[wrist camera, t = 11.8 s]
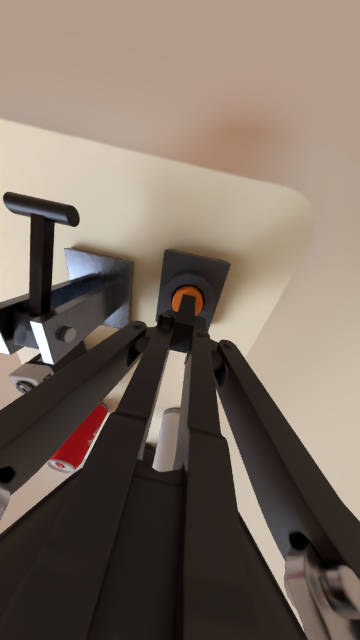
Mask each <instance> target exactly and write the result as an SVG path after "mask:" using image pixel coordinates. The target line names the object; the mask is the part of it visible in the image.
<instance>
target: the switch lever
mask: <svg viewBox="0 0 360 640" xmlns="http://www.w3.org/2000/svg"><path fill="white" fill-rule="evenodd" d="M3 201H4V204H5V205H6V207H7V208H8V209H9V210H10V211H11V212H13V213H15V214H18V215H23V216H27V217H31V231H30V281H29V311H26V312H18V313H14V344H17V345H22V346H26V347H30V348H35V349H39V347H38V344H37V341H36V338H35V335H34V332H33V329H32V326H31V323H30V320H32V319H34V318H36V317H38V316H40V315H43V314H45V313H47V312H49V311H50V308H51V288H52V267H53V246H54V226H55V223H59V224H63V225H68V226H72V227H76V226H78V225H79V221H80V218H79V213H78V211H77V210H76V208H75V207H73V206H71V205H67V204H62V203H58V202H53V201H49V200H44V199H40V198H35V197H31V196H26V195H21V194H17V193H12V192H6V193H5V194H4V196H3Z"/></svg>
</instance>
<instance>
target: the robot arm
mask: <svg viewBox="0 0 360 640" xmlns="http://www.w3.org/2000/svg"><path fill="white" fill-rule="evenodd" d="M195 303H196V297H194V296H190V295H185V294H183V295H182V299H181V302H180V306H179V309H178V312H176V311H172V310H167V311H165V313H161V314H159V315H158V322H157V326H156V327H147V326H146V324H145V323H144V322H141V321H132V322H130V323H129V324H127V325H126V326H124V327H123V328H121V329H120V330H118V331H117V332H115V333H114V334H112V335H111V336H109V337H108V338H106V339H105V340H103V341H102V342H101V343H99V344H98V345H96V346H95V347H93V348H92V349H90V350H89V351H87V352H86V353H84V354H83V355H81V356H80V357H78V358H77V359H75V360H74V361H72V362H71V363H69V364H68V365H67V366H65V367H64V368H62V369H61V370H59V371H58V372H56V373H55V374H53V375H52V376H50V377H49V378H47V379H46V380H44V381H43V382H41V383H40V384H38V385H37V386H35V387H34V388H33V389H31V390H30V391H28V392H27V393H25V394H24V395H22V396H21V397H19V398H18V399H16V400H15V401H13V402H12V403H11V404H9V405H7V406H6V407H4V408H3V409H2V410H0V520H1V517H2V515H3V513H4V511H5V509H6V507H7V505H8V503H9V499H10V496H11V495H12V494H13V493H14V492H15V491H17V490H18V489H19V488H20V487H21V486H22V485H23V484H25V483H26V482H27V481H28V480H29V479H30V478H31V477H32V476H33V475H34V474H35V473H36V472H37V471H38V470H39V469H40V468H41V467H42V466H43V465H44V464H45V463H46V462H47V461H48V460H49V459H50V458H51V457H52V456H53V455H54V454H55V452H56V451H57V450H58V449H59V448H60V447H61V446H62V445H63V444H64V442H65V441H66V440H67V439H68V438H69V437H70V436H71V435H72V434H73V432H74V431H75V430H76V429H77V428H78V427H79V426H80V425H81V424H82V422H83V421H84V420H85V419H86V418H87V417H88V416H89V415H90V414H91V412H92V411H93V410H94V409H95V408H96V407H97V406H98V405H99V404H100V403H101V401H102V400H103V399H104V398H105V397H106V396H107V395H108V394H109V393H110V391H111V390H112V389H113V388H114V387H115V386H116V385H117V384H118V383H119V381H120V380H121V379H122V378H123V377H124V376H125V375H126V374H127V373H128V371H129V370H130V369H131V368H132V367H133V366H134V365H135V364H136V363H137V361H138V360H139V359H140V358H141V359H140V361H139V363H138V365H137V368H136V370H135V372H134V374H133V376H132V378H131V380H130V382H129V384H128V386H127V388H126V390H125V393H124V395H123V397H122V399H121V401H120V403H119V405H118V407H117V409H116V410H115V412H112V413H111V414H110V415H109V417H108V418H107V420H106V422H105V424H104V426H103V428H102V430H101V432H100V434H99V436H98V438H97V440H96V442H95V444H94V446H93V448H92V450H91V452H90V454H89V456H88V458H87V459H86V462H85V463H84V466H83V468H81V469H79V470H78V471H76V472H75V473H74V474H72V475H71V476H70V477H68V478H67V479H66V480H65V481H64V482H62V483H61V484H60V485H59V486H57V487H56V488H55V489H54V490H53V491H52V492H50V493H49V494H48V495H47V496H45V497H44V498H43V499H42V500H41V501H39V502H38V503H37V504H36V505H35V506H34V507H32V508H31V509H30V510H29V511H28V512H26V513H25V514H24V515H23V516H22V517H20V518H19V519H18V520H17V521H16V522H14V523H13V524H12V525H11V526H10V527H8V528H7V529H6V530H5V531H4V532H2V533H1V534H0V640H360V521H359V520H358V519H357V518H356V517H355V516H354V515H353V514H352V512H351V511H350V510H349V509H348V508H347V507H346V506H345V505H344V503H343V502H342V501H341V500H340V498H339V497H338V495H337V494H336V492H335V491H334V489H333V488H332V486H331V485H330V483H329V482H328V480H327V479H326V478H325V476H324V475H323V473H322V472H321V470H320V469H319V467H318V466H317V464H316V463H315V461H314V460H313V458H312V457H311V455H310V454H309V452H308V451H307V450H306V448H305V447H304V445H303V444H302V442H301V441H300V439H299V438H298V436H297V435H296V433H295V432H294V430H293V429H292V428H291V426H290V425H289V423H288V422H287V420H286V419H285V417H284V416H283V414H282V413H281V411H280V410H279V408H278V407H277V406H276V404H275V402H274V401H273V400H272V398H271V397H270V395H269V394H268V392H267V391H266V389H265V388H264V386H263V385H262V383H261V382H260V380H259V379H258V378H257V376H256V374H255V373H254V372H253V370H252V369H251V367H250V366H249V364H248V363H247V362H246V360H245V358H244V357H243V355H242V354H241V352H240V351H239V349H238V348H237V347H236V345H235V344H234V343H232V342H231V341H228V340H221V341H220V342H219V343H218V342H215V341H213V340H212V339H210V335H209V334H208V333H207V327H206V320H205V318H204V317H201V316H196V315H195ZM169 350H174V351H178V352H183V353H187V356H186V359H185V363H184V364H185V372H184V381H183V390H182V399H181V408H180V418H179V427H178V436H177V445H176V454H175V460H174V465H173V470H172V471H165V472H159V471H157V470H155V469H154V468H152V467H151V466H149V465H147V464H146V463H144V462H143V461H141V460H142V456H143V451H144V447H145V443H146V439H147V436H148V432H149V428H150V424H151V420H152V416H153V412H154V408H155V405H156V401H157V397H158V393H159V389H160V385H161V381H162V377H163V373H164V370H165V366H166V362H167V358H168V354H169ZM187 351H188V352H187ZM216 389H217V392H218V395H219V398H220V400H221V403H222V406H223V408H224V411H225V414H226V416H227V419H228V422H229V425H230V427H231V430H232V433H233V435H234V438H235V441H236V444H237V446H238V449H239V451H240V454H241V457H242V460H243V462H244V465H245V468H246V471H247V473H248V476H249V479H250V481H251V484H252V487H253V490H254V492H255V495H256V497H257V500H258V503H259V505H260V508H261V511H262V513H263V515H264V518H265V520H266V523H267V525H268V527H269V530H270V531H271V534H272V536H273V538H274V540H275V542H276V544H277V546H278V548H279V550H280V552H281V554H282V556H283V558H284V559H285V575H284V585H285V588H286V592H287V595H288V597H289V599H290V601H291V603H292V605H293V606H294V607H295V608H296V609H297V611H298V614H299V617H300V619H301V622H302V624H303V628H304V631H305V633H304V631H303V629H302V627H301V626H300V624H299V622H298V620H297V618H296V616H295V614H294V613H293V611H292V609H291V607H290V605H289V604H288V602H287V600H286V598H285V596H284V594H283V592H282V591H281V589H280V587H279V585H278V583H277V581H276V579H275V577H274V576H273V574H272V572H271V570H270V569H269V566H268V565H267V563H266V561H265V559H264V557H263V555H262V553H261V552H260V550H259V548H258V546H257V544H256V543H255V541H254V539H253V537H252V535H251V533H250V531H249V529H248V528H247V526H246V524H245V522H244V520H243V518H242V517H241V515H240V513H239V512H238V509H237V502H236V495H235V488H234V481H233V475H232V467H231V461H230V453H229V447H228V443H227V440H226V438H225V437H223V436H222V434H221V430H220V422H219V414H218V404H217V395H216Z"/></svg>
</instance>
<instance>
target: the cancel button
mask: <svg viewBox="0 0 360 640" xmlns="http://www.w3.org/2000/svg"><path fill="white" fill-rule="evenodd" d="M183 294H185V295H190V296H194V297H196V303H195V315H198V314H199V313H200V311H201V309H202V306H203V302H202V295H201V293H200V291H199V290H198V289H197V288H195V287H193V286H183V287H181V288H179V289H178V290H177V291H176V293H175V295H174V297H173V300H172V307H173V310H174V311H176V312H178V309H179V306H180V302H181V299H182V295H183Z"/></svg>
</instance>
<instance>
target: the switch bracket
mask: <svg viewBox="0 0 360 640" xmlns="http://www.w3.org/2000/svg"><path fill="white" fill-rule="evenodd" d="M64 250H65V256H66V262H67V268H68V274H69V281H66V282H63V283H59V284H56V285H53V286H52V288H51V308H50V311H49V312H47V313H45V314H43V315H40V316H38V317H36V318H34V319H32V320H30V323H31V326H32V329H33V332H34V335H35V338H36V341H37V344H38V347H39V350H40V353H41V356H42V359H43V362H44V363H49V364H53V365H55V364H56V363H57V362H58V361H59V360H60V359H61V358H63V357H64V356H65V355H66V354H67V353H68V352H70V351H71V350H72V349H73V348H74V347H75V346H76V345H78V344H79V343H80V342H81V341H82V340H83V339H84V338H86V337H87V336H88V335H89V334H90V333H91V332H92V331H94V330H95V329H96V328H97V327H98V326H99V325H105V326H109V327H114V328H118V329H121V328H123V327H124V326H126V325H127V324H129V323H130V322H131V311H132V285H133V261H128V260H124V259H119V258H115V257H110V256H106V255H101V254H97V253H92V252H88V251H83V250H79V249H74V248H64ZM26 311H29V293H28V294H25V295H22V296H19V297H16V298H12V299H9V300H6V301H3V302H0V352H1V353H5V354H10V355H11V354H13V353H15V352H16V351H18V350H19V349H21V348H23V347H24V346H22V345H17V344H14V313H18V312H26Z"/></svg>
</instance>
